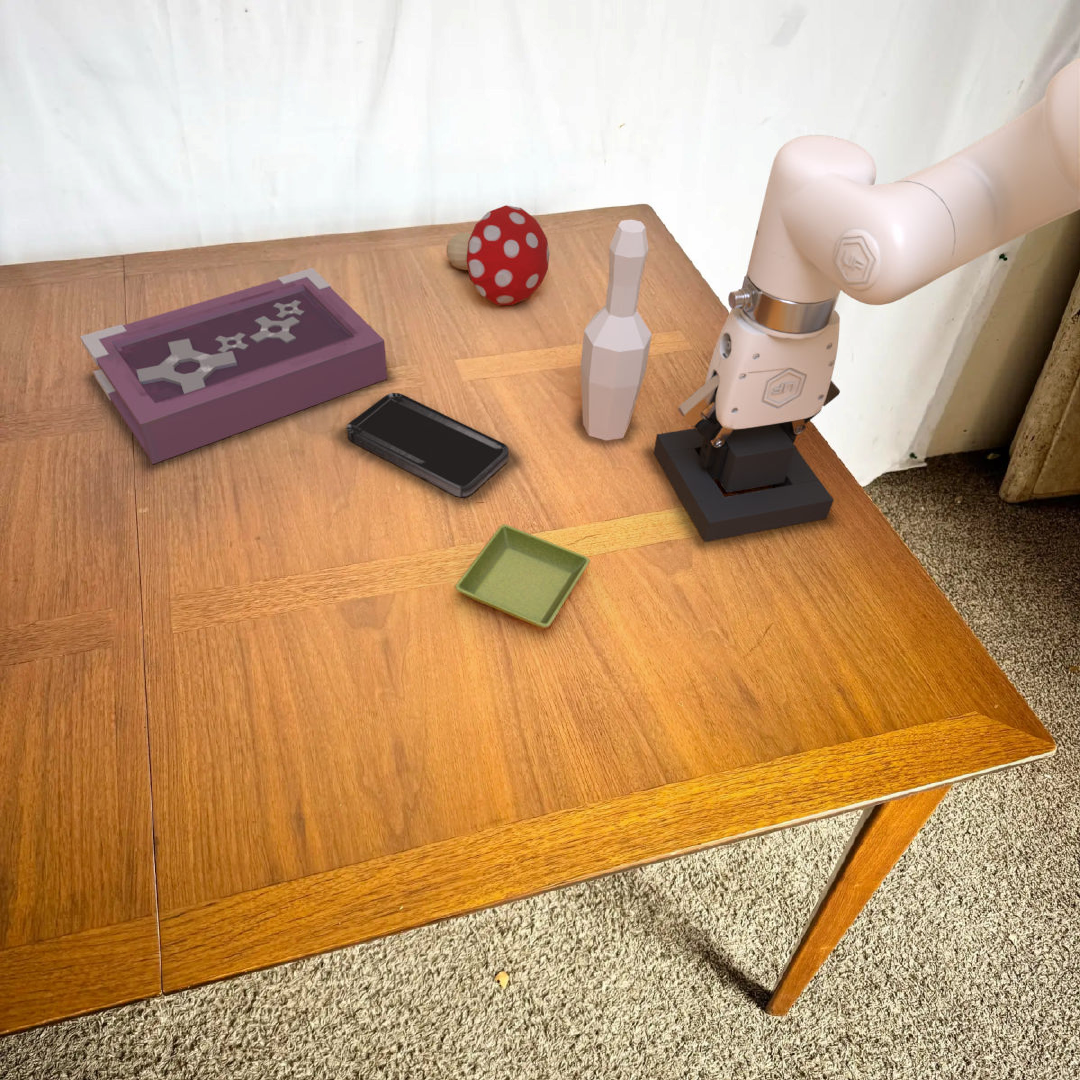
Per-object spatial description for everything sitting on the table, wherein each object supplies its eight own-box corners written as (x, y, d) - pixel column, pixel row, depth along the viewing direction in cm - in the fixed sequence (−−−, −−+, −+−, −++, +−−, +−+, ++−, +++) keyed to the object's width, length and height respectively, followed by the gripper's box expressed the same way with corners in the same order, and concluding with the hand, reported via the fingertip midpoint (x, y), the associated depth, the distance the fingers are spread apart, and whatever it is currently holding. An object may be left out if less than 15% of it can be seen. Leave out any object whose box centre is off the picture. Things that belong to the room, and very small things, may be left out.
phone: (393, 389, 98) (513, 447, 93) (393, 398, 99) (512, 456, 94) (340, 429, 94) (464, 492, 88) (342, 438, 94) (464, 501, 89)
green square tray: (590, 574, 84) (592, 557, 82) (546, 643, 78) (547, 627, 77) (501, 538, 86) (502, 522, 85) (453, 604, 81) (453, 587, 79)
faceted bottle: (635, 408, 100) (666, 210, 84) (637, 447, 96) (671, 247, 80) (574, 404, 100) (594, 206, 84) (574, 444, 96) (595, 242, 80)
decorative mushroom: (429, 188, 113) (507, 192, 103) (499, 219, 121) (579, 225, 110) (406, 282, 115) (480, 295, 104) (477, 306, 122) (553, 321, 112)
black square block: (784, 483, 90) (796, 446, 87) (726, 493, 89) (735, 456, 85) (756, 442, 94) (766, 405, 91) (700, 451, 93) (708, 415, 89)
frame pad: (826, 518, 90) (834, 499, 88) (704, 542, 87) (709, 522, 85) (767, 434, 98) (772, 415, 97) (653, 453, 95) (656, 434, 94)
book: (317, 306, 110) (312, 267, 107) (388, 378, 102) (385, 339, 98) (94, 377, 99) (79, 336, 96) (151, 465, 90) (138, 423, 87)
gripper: (710, 337, 73) (673, 506, 86) (905, 311, 78) (842, 475, 91) (673, 285, 78) (643, 452, 91) (858, 263, 82) (805, 426, 95)
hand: (743, 462), depth 91 cm, fingers closed on black square block, 6 cm apart
